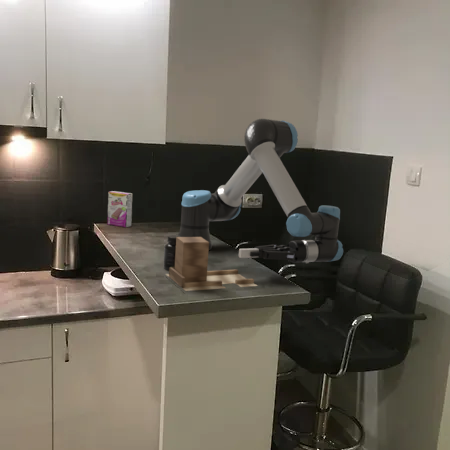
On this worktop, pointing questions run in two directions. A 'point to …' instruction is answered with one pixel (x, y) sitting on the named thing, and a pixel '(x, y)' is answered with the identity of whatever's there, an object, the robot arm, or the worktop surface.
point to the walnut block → (192, 258)
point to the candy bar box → (119, 209)
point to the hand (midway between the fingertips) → (239, 253)
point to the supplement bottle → (170, 252)
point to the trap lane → (211, 280)
